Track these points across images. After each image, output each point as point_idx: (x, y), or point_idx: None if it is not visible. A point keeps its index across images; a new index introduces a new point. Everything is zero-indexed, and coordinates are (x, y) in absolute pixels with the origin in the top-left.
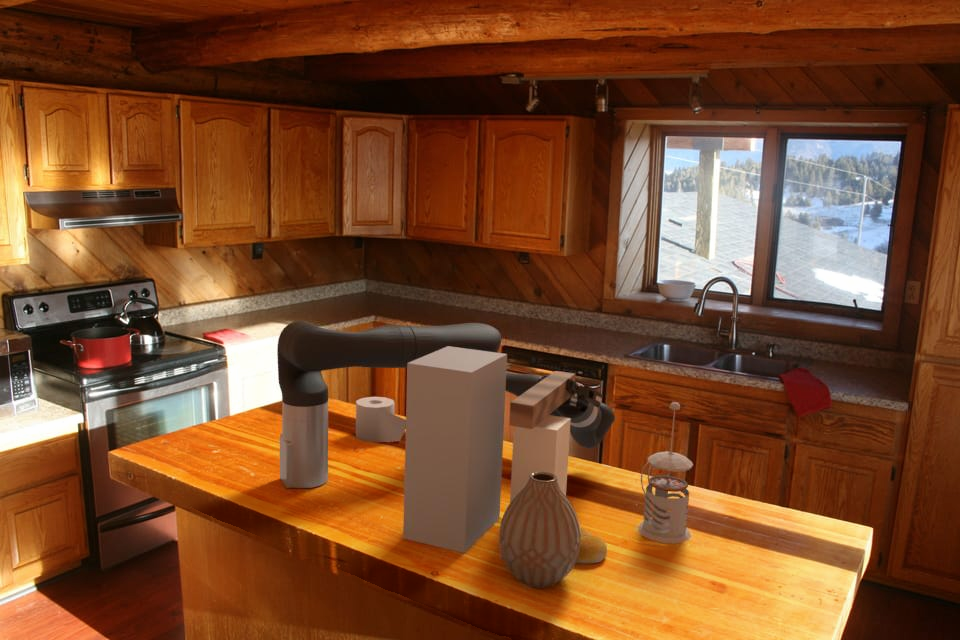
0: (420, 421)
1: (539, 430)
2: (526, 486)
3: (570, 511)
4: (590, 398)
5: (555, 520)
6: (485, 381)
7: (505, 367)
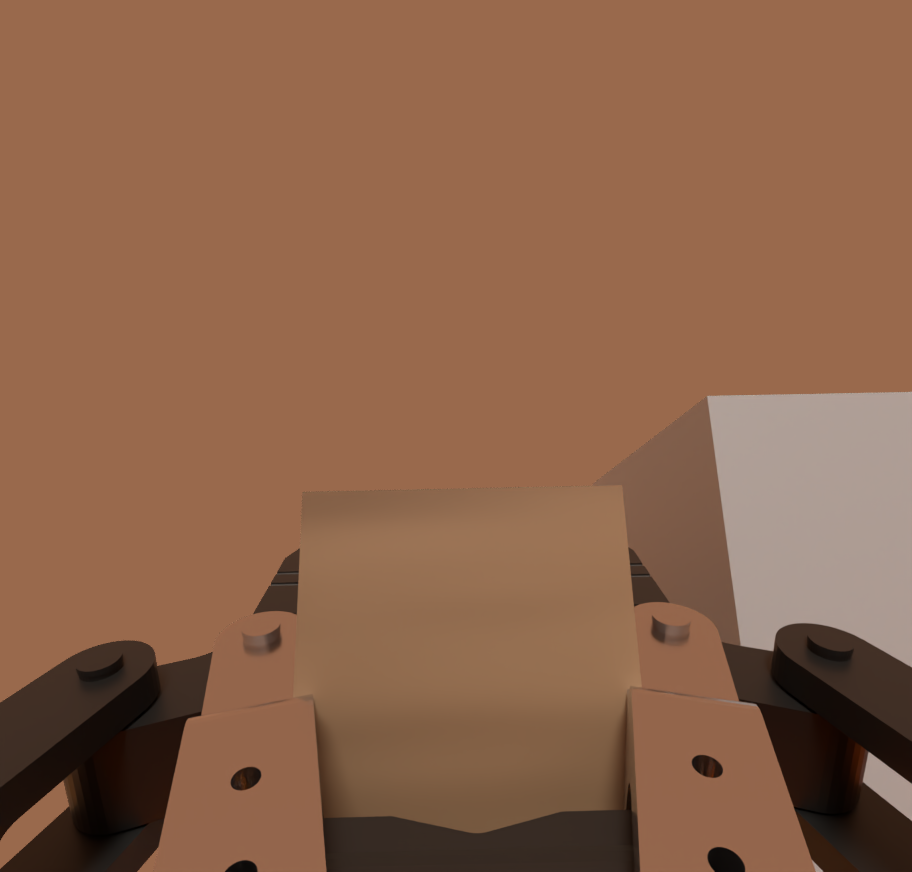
0: None
1: None
2: None
3: None
4: (10, 862)
5: None
6: (628, 522)
7: (709, 473)
